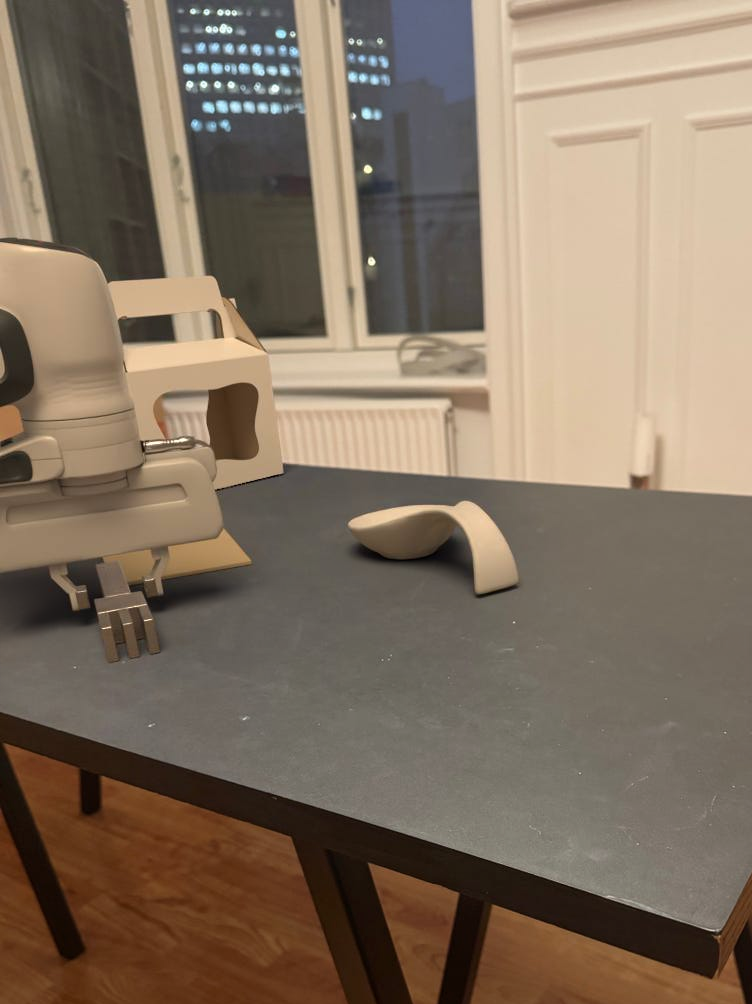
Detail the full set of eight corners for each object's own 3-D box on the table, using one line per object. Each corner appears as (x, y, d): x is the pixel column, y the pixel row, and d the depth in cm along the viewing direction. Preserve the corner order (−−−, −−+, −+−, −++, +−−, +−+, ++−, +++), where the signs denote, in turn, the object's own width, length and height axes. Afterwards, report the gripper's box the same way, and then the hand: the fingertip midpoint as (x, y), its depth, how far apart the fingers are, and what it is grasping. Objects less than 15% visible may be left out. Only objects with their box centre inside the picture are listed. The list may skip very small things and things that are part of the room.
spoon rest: (332, 550, 100) (325, 485, 98) (424, 529, 106) (420, 467, 103) (448, 608, 82) (443, 530, 79) (552, 579, 88) (551, 505, 85)
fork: (91, 594, 90) (85, 565, 89) (134, 587, 92) (128, 558, 90) (108, 663, 74) (101, 628, 73) (160, 652, 76) (153, 618, 74)
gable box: (236, 464, 146) (207, 275, 135) (286, 474, 138) (259, 273, 127) (103, 493, 131) (59, 284, 120) (150, 506, 123) (107, 282, 112)
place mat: (252, 564, 97) (251, 560, 97) (112, 588, 92) (111, 584, 91) (213, 518, 115) (213, 515, 115) (95, 536, 110) (94, 533, 110)
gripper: (204, 427, 84) (227, 571, 89) (-46, 456, 76) (-4, 612, 82) (217, 438, 79) (241, 590, 84) (-51, 470, 71) (-6, 635, 76)
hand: (118, 601), depth 83 cm, fingers open, 5 cm apart
